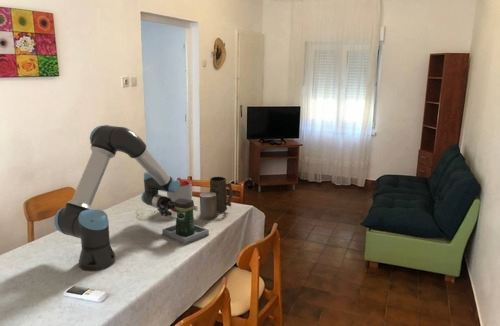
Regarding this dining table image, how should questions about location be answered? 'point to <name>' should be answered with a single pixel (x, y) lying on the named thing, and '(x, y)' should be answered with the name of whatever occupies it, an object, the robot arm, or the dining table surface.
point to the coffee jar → (184, 217)
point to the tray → (172, 234)
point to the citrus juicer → (182, 191)
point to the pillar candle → (208, 205)
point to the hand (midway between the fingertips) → (187, 211)
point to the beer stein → (221, 192)
